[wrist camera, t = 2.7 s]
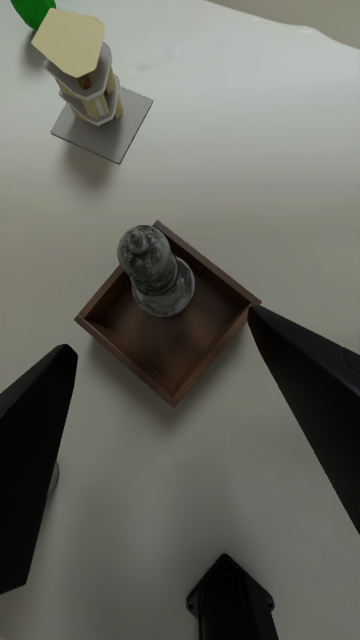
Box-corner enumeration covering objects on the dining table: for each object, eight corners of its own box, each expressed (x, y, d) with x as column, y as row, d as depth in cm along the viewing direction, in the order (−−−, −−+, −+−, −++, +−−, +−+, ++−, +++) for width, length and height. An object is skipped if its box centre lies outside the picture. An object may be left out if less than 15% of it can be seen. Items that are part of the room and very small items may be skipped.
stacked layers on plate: (50, 132, 21) (2, 63, 16) (84, 71, 21) (48, -18, 16) (119, 163, 20) (94, 103, 15) (153, 100, 21) (140, 17, 15)
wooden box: (176, 392, 19) (173, 408, 15) (95, 321, 20) (73, 319, 16) (247, 307, 19) (262, 301, 15) (163, 240, 20) (157, 219, 16)
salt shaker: (134, 308, 19) (44, 275, 7) (152, 260, 19) (94, 150, 7) (183, 326, 19) (173, 323, 7) (201, 277, 19) (223, 189, 7)
